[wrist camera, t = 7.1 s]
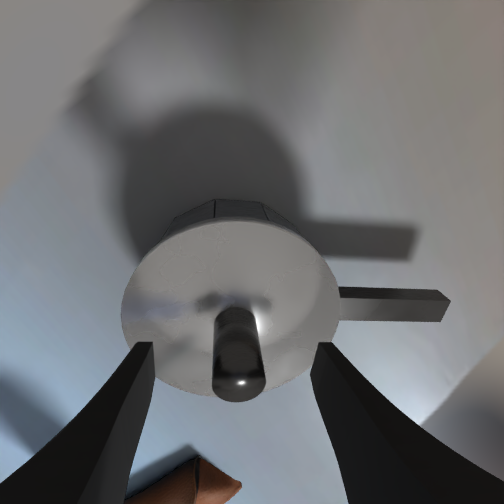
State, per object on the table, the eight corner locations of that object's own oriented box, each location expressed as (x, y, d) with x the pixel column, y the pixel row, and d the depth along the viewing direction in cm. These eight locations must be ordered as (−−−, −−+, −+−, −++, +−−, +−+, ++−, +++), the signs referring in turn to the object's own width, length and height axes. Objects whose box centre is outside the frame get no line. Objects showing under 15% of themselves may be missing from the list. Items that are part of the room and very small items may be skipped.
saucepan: (157, 331, 20) (144, 377, 17) (150, 194, 16) (129, 217, 12) (389, 333, 23) (420, 374, 19) (437, 214, 18) (489, 239, 15)
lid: (126, 381, 17) (97, 464, 13) (125, 199, 12) (79, 241, 8) (305, 389, 19) (327, 463, 15) (364, 233, 14) (420, 281, 10)
